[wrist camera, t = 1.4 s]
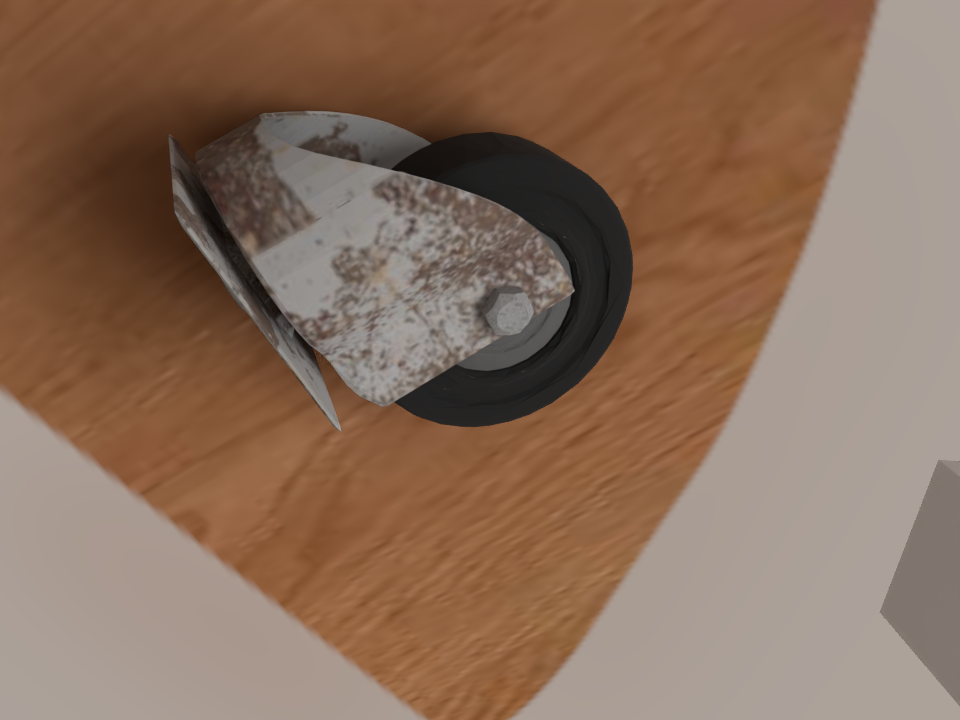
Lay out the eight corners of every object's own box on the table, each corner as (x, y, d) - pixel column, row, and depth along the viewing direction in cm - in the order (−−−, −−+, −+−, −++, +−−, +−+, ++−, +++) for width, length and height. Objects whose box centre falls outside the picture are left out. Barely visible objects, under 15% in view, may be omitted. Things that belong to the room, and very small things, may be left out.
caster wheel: (597, 277, 28) (355, 423, 27) (471, -43, 21) (148, 141, 21) (705, 369, 23) (405, 553, 22) (580, -22, 16) (148, 228, 15)
